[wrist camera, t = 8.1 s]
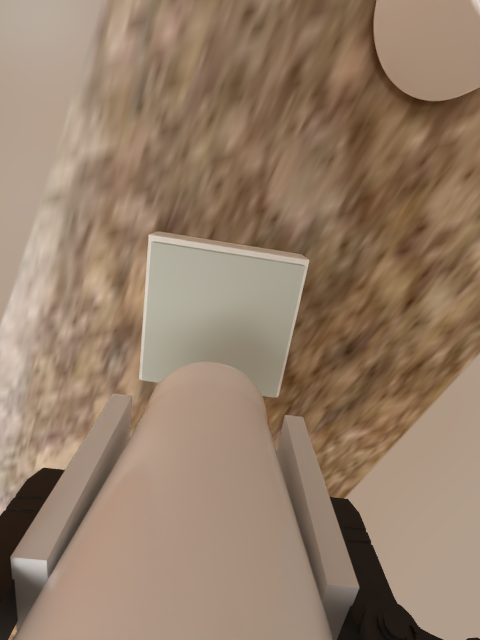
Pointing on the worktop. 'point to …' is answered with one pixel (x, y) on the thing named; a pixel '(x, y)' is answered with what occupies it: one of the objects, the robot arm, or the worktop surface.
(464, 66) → the cup
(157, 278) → the coaster
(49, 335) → the worktop surface
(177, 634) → the drinking glass
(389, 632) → the robot arm
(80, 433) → the worktop surface
